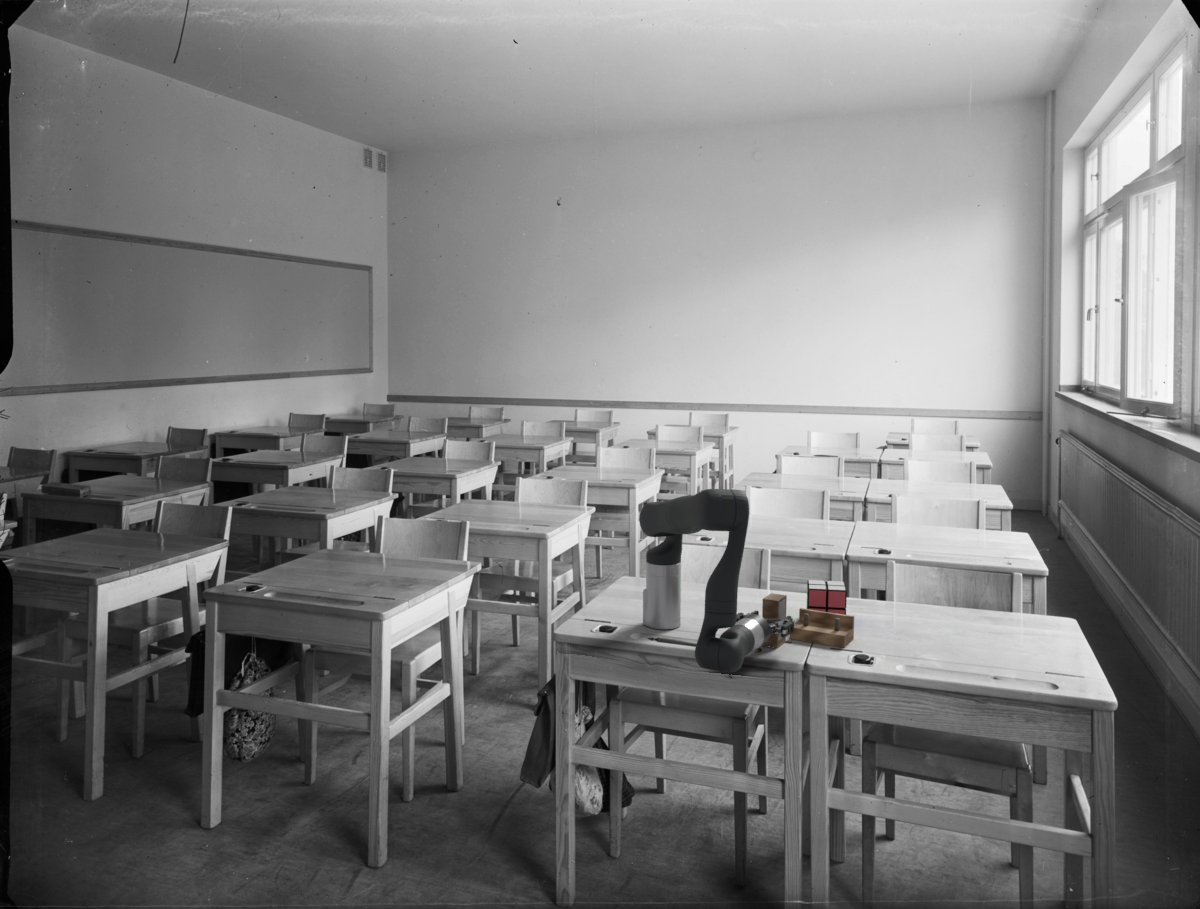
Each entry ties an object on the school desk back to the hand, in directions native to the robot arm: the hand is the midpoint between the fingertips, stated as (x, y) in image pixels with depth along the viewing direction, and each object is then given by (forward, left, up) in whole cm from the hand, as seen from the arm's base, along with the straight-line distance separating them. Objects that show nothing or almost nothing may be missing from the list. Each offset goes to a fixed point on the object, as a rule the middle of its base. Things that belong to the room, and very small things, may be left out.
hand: (773, 617), depth 228 cm
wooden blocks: (0, +1, -7) cm, 7 cm away
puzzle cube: (+5, +27, -7) cm, 28 cm away
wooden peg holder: (+9, +11, -7) cm, 16 cm away
